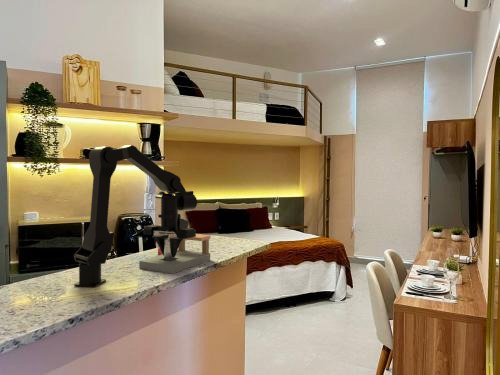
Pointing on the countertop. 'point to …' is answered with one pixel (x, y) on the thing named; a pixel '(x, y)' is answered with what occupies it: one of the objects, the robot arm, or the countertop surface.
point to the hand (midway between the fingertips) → (169, 256)
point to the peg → (167, 250)
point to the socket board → (179, 257)
